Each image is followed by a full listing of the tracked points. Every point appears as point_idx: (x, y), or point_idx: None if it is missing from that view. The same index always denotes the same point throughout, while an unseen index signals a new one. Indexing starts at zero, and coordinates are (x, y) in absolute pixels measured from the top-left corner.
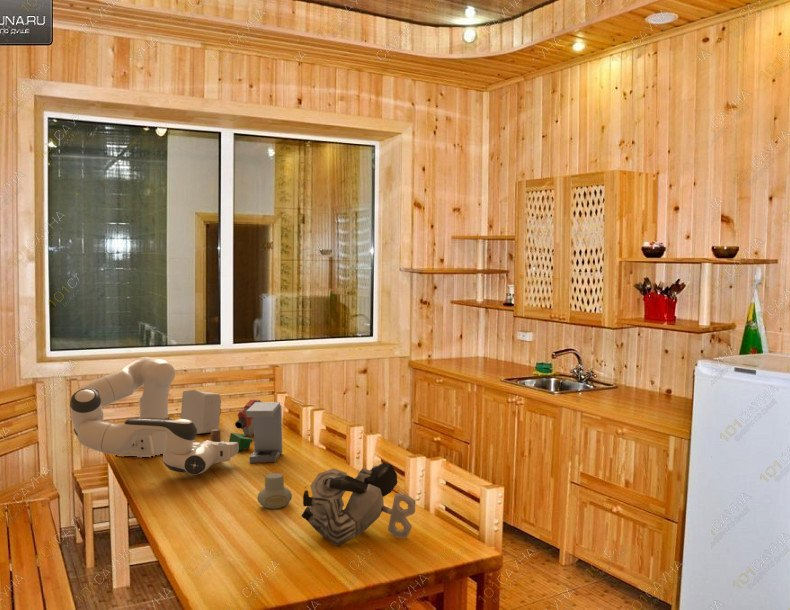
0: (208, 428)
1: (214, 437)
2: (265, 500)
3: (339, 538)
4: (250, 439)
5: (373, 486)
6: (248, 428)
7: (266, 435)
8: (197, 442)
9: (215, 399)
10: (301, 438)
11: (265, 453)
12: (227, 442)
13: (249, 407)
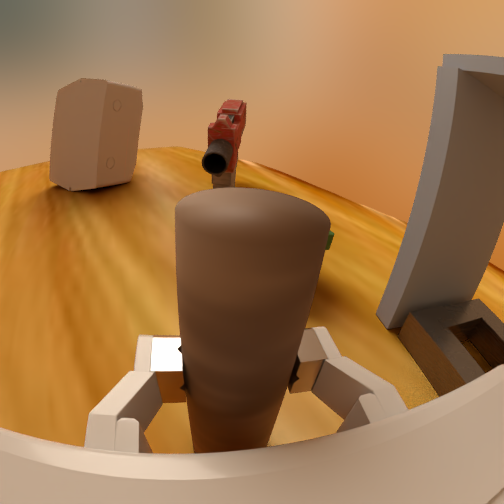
0: (111, 174)
1: (256, 340)
2: None
3: None
4: (331, 235)
5: None
6: (231, 175)
7: (464, 239)
8: (6, 456)
9: (131, 99)
10: (373, 213)
11: (459, 330)
12: (475, 410)
13: (235, 114)
